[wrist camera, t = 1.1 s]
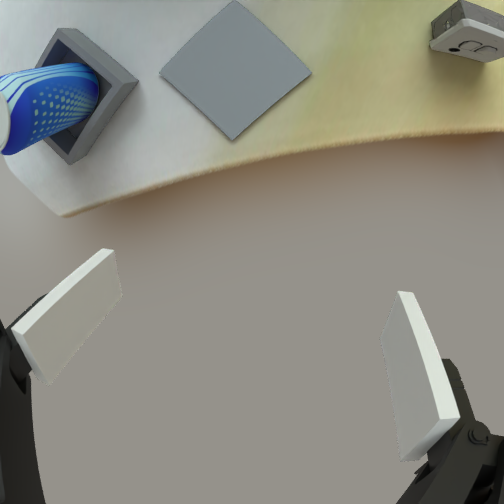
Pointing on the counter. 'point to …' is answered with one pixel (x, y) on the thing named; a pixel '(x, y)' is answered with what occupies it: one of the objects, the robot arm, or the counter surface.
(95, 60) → the grey storage bin
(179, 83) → the coaster mat
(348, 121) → the counter surface
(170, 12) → the counter surface
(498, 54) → the electrical switch
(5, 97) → the beer can
